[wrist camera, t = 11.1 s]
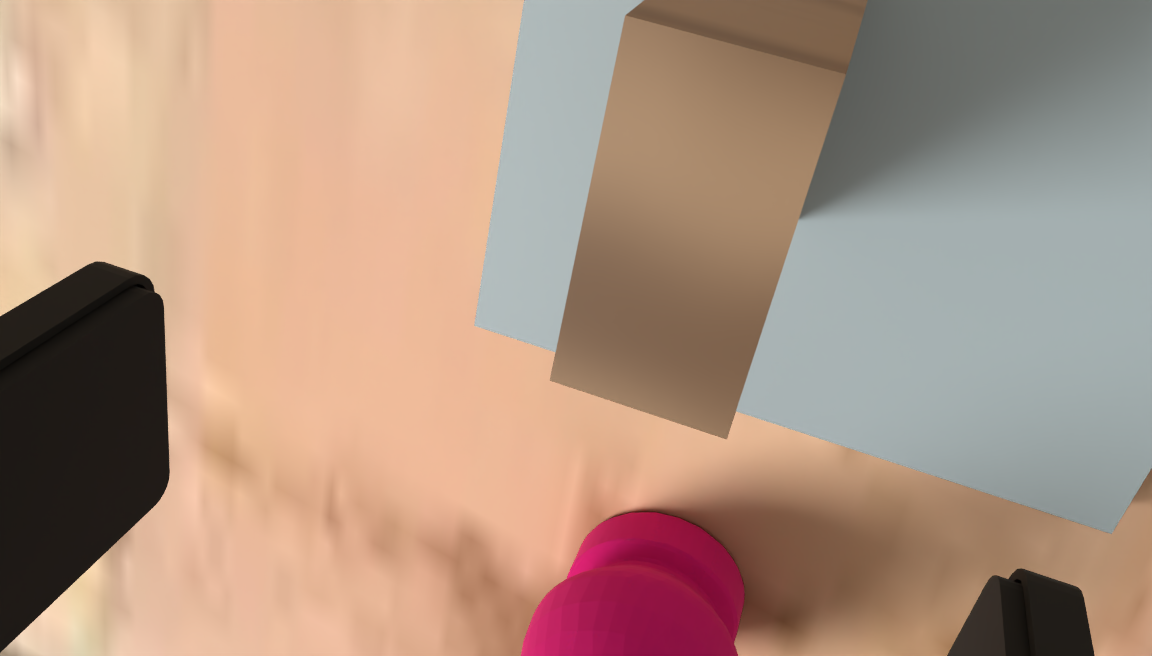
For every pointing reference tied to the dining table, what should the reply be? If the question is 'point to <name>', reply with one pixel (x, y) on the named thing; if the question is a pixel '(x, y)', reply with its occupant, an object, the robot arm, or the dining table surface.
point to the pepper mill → (642, 594)
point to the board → (911, 240)
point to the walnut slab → (698, 198)
